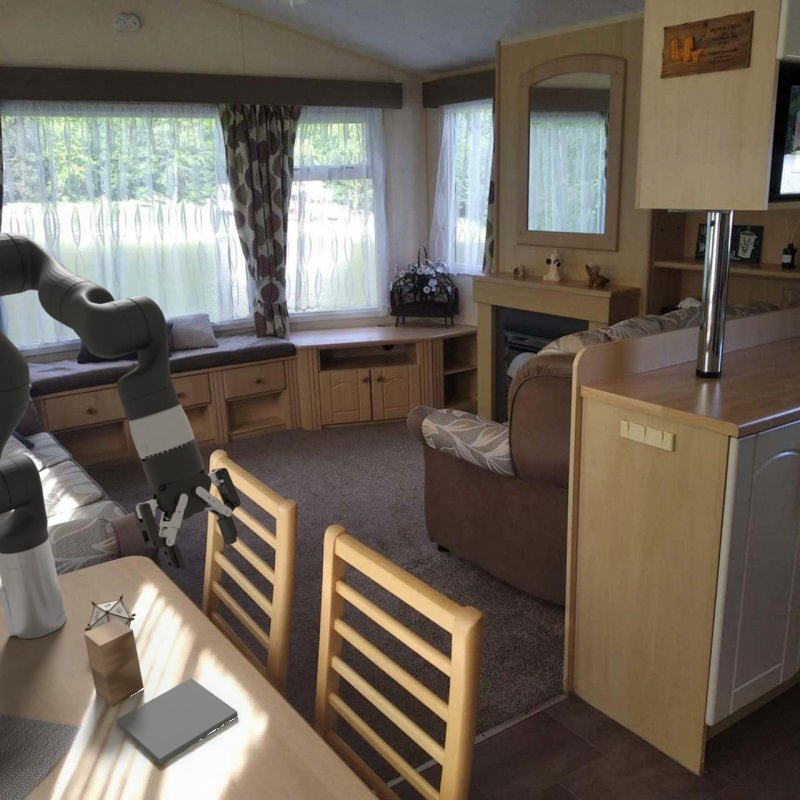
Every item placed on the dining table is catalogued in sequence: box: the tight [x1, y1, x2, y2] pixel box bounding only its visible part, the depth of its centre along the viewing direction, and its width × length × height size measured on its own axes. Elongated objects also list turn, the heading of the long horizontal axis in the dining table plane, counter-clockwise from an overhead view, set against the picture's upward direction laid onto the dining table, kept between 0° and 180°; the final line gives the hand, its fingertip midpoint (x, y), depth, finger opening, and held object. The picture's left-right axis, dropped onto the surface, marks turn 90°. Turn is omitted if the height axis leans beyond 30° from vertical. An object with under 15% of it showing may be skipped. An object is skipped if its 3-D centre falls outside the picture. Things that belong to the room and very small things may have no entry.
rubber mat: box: [115, 677, 239, 766], centre depth 121 cm, size 13×13×1 cm
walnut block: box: [83, 618, 145, 708], centre depth 127 cm, size 6×6×11 cm
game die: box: [83, 594, 137, 632], centre depth 142 cm, size 9×8×10 cm
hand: (206, 556), depth 109 cm, fingers open, 8 cm apart
